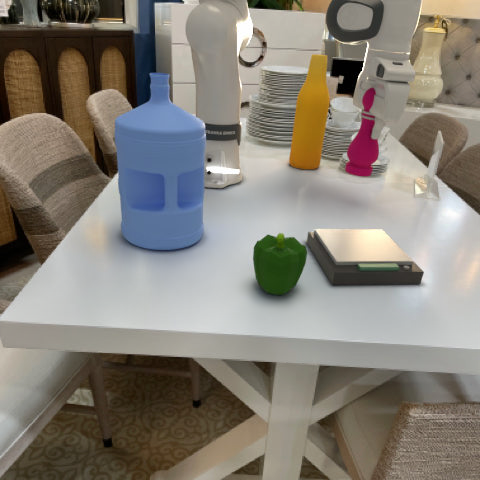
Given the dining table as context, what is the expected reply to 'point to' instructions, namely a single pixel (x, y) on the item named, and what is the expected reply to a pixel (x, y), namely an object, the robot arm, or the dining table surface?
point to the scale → (362, 257)
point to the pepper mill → (363, 142)
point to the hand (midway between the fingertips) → (369, 135)
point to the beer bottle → (310, 117)
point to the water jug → (160, 171)
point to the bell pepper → (278, 263)
